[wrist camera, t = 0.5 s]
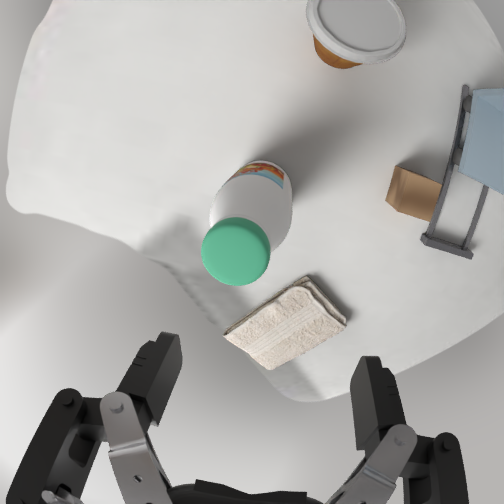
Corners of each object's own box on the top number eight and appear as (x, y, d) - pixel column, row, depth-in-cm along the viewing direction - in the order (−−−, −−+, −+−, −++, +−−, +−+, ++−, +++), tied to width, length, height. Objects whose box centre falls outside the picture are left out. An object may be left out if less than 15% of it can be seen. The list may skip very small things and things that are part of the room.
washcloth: (350, 315, 44) (353, 327, 41) (270, 365, 51) (269, 377, 48) (304, 268, 41) (305, 278, 38) (223, 328, 48) (219, 340, 45)
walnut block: (395, 165, 33) (409, 172, 28) (425, 176, 32) (442, 184, 28) (385, 200, 35) (397, 211, 30) (415, 209, 35) (429, 221, 30)
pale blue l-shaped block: (464, 90, 25) (516, 88, 15) (504, 117, 25) (555, 125, 14) (449, 167, 30) (498, 188, 20) (489, 188, 30) (537, 213, 20)
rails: (459, 83, 25) (466, 82, 24) (504, 112, 25) (512, 113, 23) (420, 239, 36) (425, 245, 34) (465, 254, 36) (471, 259, 34)
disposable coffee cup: (338, 5, 24) (356, -37, 13) (389, 57, 26) (429, 34, 15) (285, 41, 28) (283, 4, 17) (338, 94, 30) (361, 80, 19)
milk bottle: (303, 182, 35) (318, 247, 17) (269, 227, 39) (250, 323, 21) (253, 148, 34) (213, 174, 16) (221, 195, 37) (160, 266, 19)
